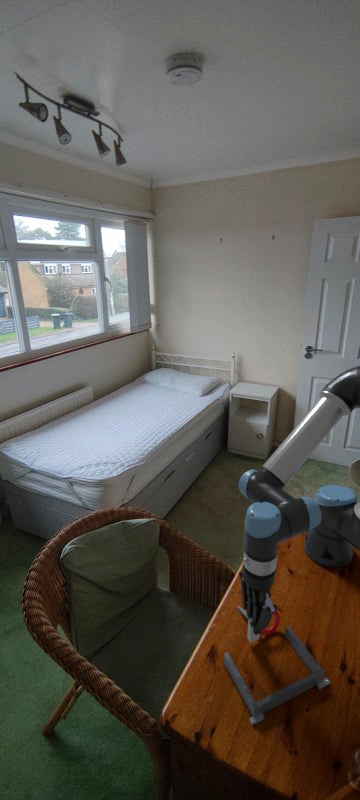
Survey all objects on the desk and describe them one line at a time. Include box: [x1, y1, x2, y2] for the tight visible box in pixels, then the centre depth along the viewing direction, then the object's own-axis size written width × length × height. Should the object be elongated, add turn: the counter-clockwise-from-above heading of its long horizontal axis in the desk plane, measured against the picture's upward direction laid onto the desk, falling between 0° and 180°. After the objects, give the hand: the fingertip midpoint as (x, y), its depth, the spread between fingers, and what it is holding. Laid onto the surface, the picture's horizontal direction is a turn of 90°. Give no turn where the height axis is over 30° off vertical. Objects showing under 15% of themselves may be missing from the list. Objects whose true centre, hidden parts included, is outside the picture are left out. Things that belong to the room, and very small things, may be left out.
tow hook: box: [237, 605, 281, 638], centre depth 103 cm, size 7×10×7 cm
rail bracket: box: [223, 625, 331, 726], centre depth 89 cm, size 21×14×3 cm, turn 113°
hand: (253, 638), depth 96 cm, fingers closed
